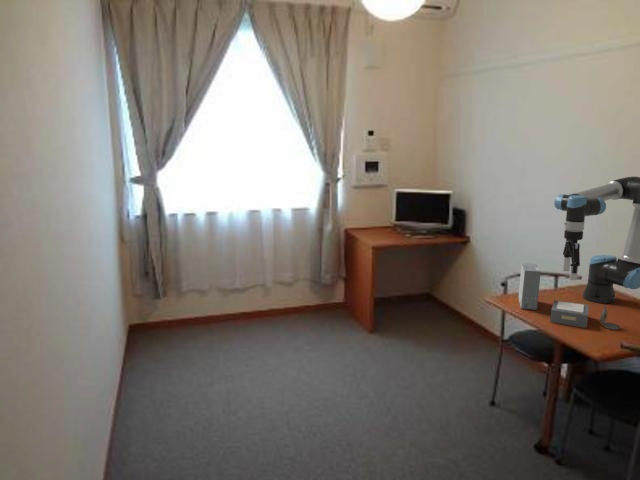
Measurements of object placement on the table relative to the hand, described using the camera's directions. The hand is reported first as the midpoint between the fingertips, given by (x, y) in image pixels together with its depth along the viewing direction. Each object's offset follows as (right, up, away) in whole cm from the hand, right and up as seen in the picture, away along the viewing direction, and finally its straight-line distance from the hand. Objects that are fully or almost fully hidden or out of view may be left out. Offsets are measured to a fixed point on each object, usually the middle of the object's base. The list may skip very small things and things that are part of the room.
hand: (569, 275), depth 231 cm
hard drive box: (-9, -17, +26) cm, 32 cm away
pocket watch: (+16, -23, -3) cm, 29 cm away
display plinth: (+3, -21, +6) cm, 22 cm away
